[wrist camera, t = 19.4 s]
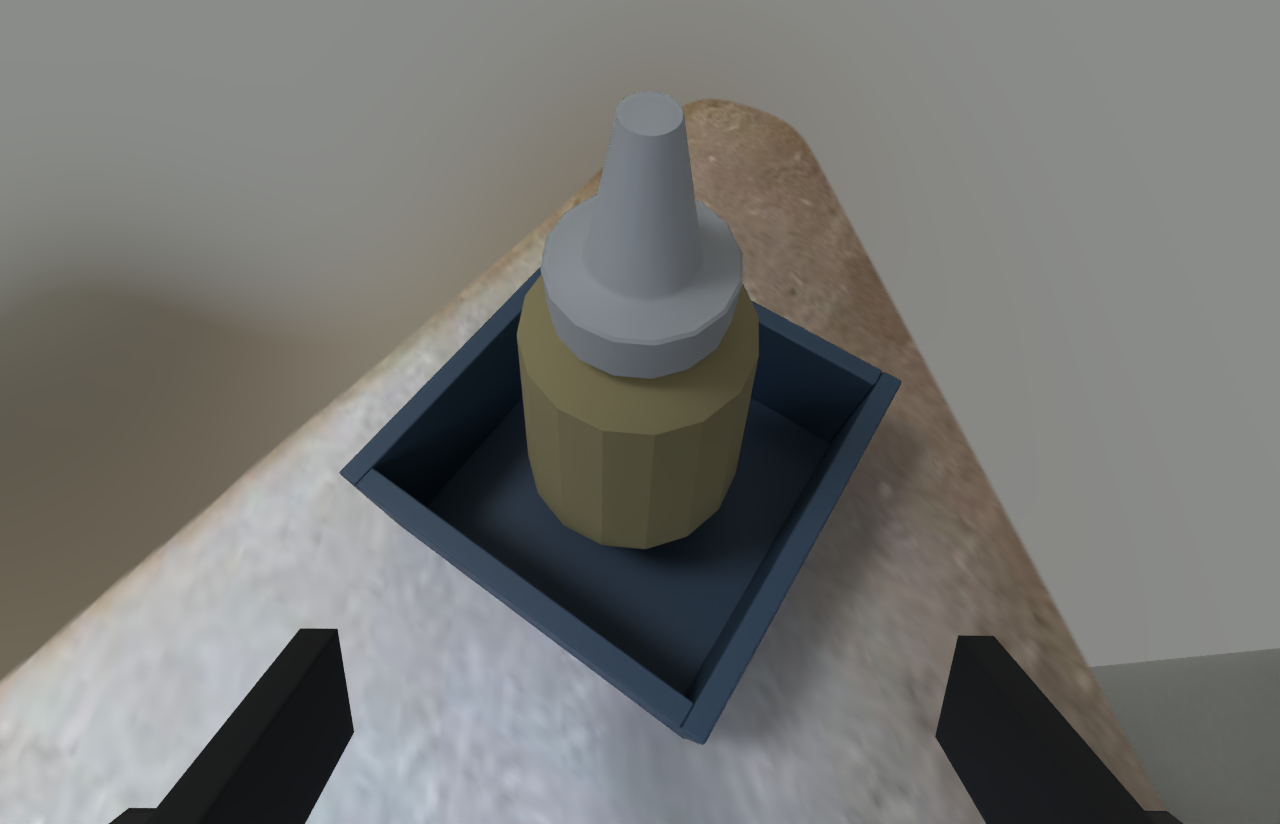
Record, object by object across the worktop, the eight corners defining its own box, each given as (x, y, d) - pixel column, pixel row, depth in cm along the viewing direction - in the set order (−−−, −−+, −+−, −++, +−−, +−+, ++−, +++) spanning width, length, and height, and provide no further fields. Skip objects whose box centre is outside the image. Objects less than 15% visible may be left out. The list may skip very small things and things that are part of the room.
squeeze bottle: (591, 608, 24) (532, 391, 8) (510, 444, 27) (347, 47, 11) (758, 514, 26) (987, 186, 10) (665, 371, 29) (721, -56, 13)
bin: (848, 445, 28) (903, 380, 23) (683, 738, 22) (704, 746, 17) (596, 300, 31) (591, 213, 26) (397, 523, 26) (337, 472, 20)
